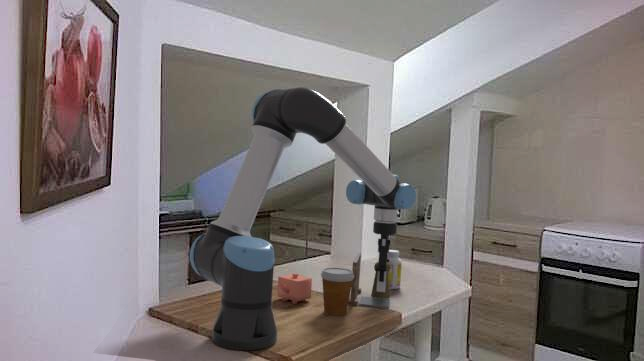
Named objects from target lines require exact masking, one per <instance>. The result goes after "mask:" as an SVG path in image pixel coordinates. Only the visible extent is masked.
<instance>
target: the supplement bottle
mask: <svg viewBox="0 0 644 361" xmlns="http://www.w3.org/2000/svg"><path fill="white" fill-rule="evenodd" d="M399 256H400V250H397V249H396V250H395V249H389V253H387V257H388V258H387V259H389V262H387V263H389V264H390V271H389V273H388V276H389V290H398V289H400V288H401V278H402V263H403V262H402V259H401V258H399Z"/></svg>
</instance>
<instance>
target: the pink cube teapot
mask: <svg viewBox="0 0 644 361" xmlns="http://www.w3.org/2000/svg"><path fill="white" fill-rule="evenodd" d="M312 282H313V277H307V276H304V275H299V273H297V272H293V273H289V274H285V275H279V276H278V278H277V294H276V295H277V296H276V297H279V298H282V299H281V300H282V301H284V302H285V301H286V302H287V301H288V300H289V301H291V304H295V305H296V304H298V302H306V300H308V299H312V286H313V283H312Z"/></svg>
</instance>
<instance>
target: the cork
mask: <svg viewBox="0 0 644 361" xmlns="http://www.w3.org/2000/svg"><path fill="white" fill-rule="evenodd" d="M378 263H379V261H377V262H376V263H374V271H375V274H374V278H373V286H372V290H371V297H374V298H385V299H390V296H391V292H390V289H389V276H388V273H389V271H390V264H389V263H386V268H387V270H386V287H385V292H378V291H377V274H378V271H376V268H378Z"/></svg>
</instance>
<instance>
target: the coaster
mask: <svg viewBox="0 0 644 361" xmlns="http://www.w3.org/2000/svg"><path fill="white" fill-rule="evenodd" d="M358 306H359V307H369V308H378V309H390V298H377V297H373V296H365V295H362V296H360V298H359V301H358Z"/></svg>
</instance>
